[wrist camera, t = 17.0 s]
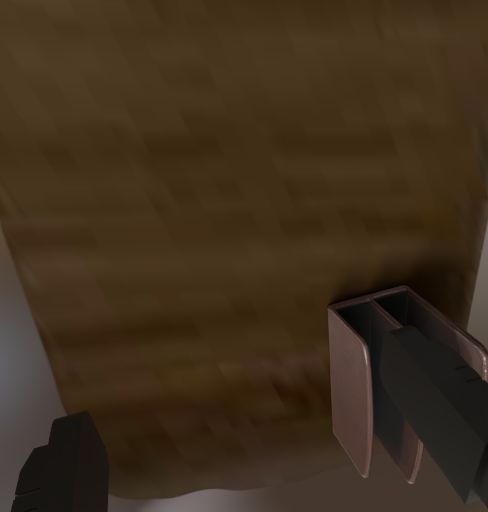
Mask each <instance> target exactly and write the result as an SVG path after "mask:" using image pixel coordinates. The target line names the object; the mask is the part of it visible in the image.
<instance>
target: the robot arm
mask: <svg viewBox="0 0 488 512" xmlns="http://www.w3.org/2000/svg"><path fill="white" fill-rule="evenodd" d="M380 377H381V381H382V384H383V386H384V388H385V390H386V392H387V393H388V395H389V396H390V398H391V399H392V400H393V402H394V403H395V405H396V406H397V408H398V409H399V410H400V412H401V413H402V415H403V416H404V418H405V419H406V420H407V422H408V423H409V425H410V426H411V428H412V429H413V430H414V432H415V433H416V435H417V436H418V438H419V439H420V440H421V442H422V443H423V445H424V446H425V448H426V449H427V451H428V452H429V453H430V455H431V456H432V458H433V459H434V461H435V462H436V463H437V465H438V466H439V468H440V469H441V471H442V472H443V473H444V475H445V476H446V478H447V479H448V480H449V482H450V483H451V485H452V486H453V488H454V489H455V491H456V492H457V493H458V495H459V496H460V498H461V499H462V501H463V502H464V504H465V505H466V504H469V503H472V502H475V501H478V500H482V501H483V502H484V504H485V505H486V507H487V508H488V383H487V382H486V381H485V380H482V378H481V376H480V375H479V374H478V373H477V372H476V371H475V370H474V369H473V368H472V367H470V366H469V364H468V363H467V362H466V361H465V360H464V359H463V358H462V357H461V356H460V355H459V354H458V353H457V352H456V350H454V349H453V348H451V347H449V346H447V345H446V344H444V343H442V342H440V341H438V340H437V339H432V340H429V341H428V340H427V339H426V338H425V337H424V336H423V335H422V334H421V332H420V331H419V330H418V329H417V328H416V327H414V326H412V325H408V326H405V327H401V328H397V329H394V330H390V331H386V332H384V334H383V338H382V348H381V359H380ZM108 484H109V464H108V457H107V452H106V449H105V446H104V444H103V442H102V439H101V437H100V435H99V433H98V431H97V429H96V427H95V425H94V422H93V420H92V418H91V416H90V414H89V413H88V412H87V411H83V412H80V413H76V414H72V415H68V416H65V417H61V418H57V419H55V420H54V421H53V424H52V427H51V432H50V438H49V443H48V445H45V446H41V447H38V448H34V450H33V451H32V453H31V454H30V456H29V458H28V459H27V461H26V463H25V464H24V466H23V468H22V469H21V471H20V474H19V479H18V483H17V487H16V492H15V500H14V501H13V505H12V509H11V512H107V511H108Z"/></svg>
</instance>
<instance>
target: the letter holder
mask: <svg viewBox="0 0 488 512" xmlns="http://www.w3.org/2000/svg"><path fill="white" fill-rule="evenodd" d="M328 325H329V328H328V329H329V350H330V378H331V400H332V420H333V432H334V434H335V436H336V437H337V438H338V440H339V442H340V443H341V445H342V446H343V448H344V450H345V451H346V453H347V454H348V456H349V457H350V459H351V460H352V462H353V463H354V465H355V466H356V468H357V470H358V471H359V472H360V474H361V475H362V476H363V477H364V478H367V477H368V476H369V474H370V468H371V461H372V451H373V434H374V435H375V436H376V438H377V439H378V441H379V442H380V443H381V445H382V446H383V447H384V449H385V450H386V452H387V453H388V455H389V456H390V457H391V459H392V460H393V462H394V463H395V464H396V466H397V468H398V469H399V470H400V472H401V473H402V475H403V476H404V478H405V479H406V480H407V481H408V482H409V483H410V484H413V483H414V482H415V481H416V479H417V475H418V473H419V469H420V465H421V460H422V454H423V449H424V448H425V446H424V445H423V443H422V442H421V440H420V439H419V438H418V436H417V435H416V433H415V432H414V430H413V429H412V428H411V426H410V425H409V423H408V422H407V420H406V419H405V418H404V416H403V415H402V413H401V412H400V410H399V409H398V408H397V406H396V405H395V403H394V402H393V400H392V399H391V398H390V396H389V395H388V393H387V392H386V390H385V388H384V386H383V384H382V381H381V377H380V359H381V348H382V338H383V334H384V332H386V331H390V330H394V329H397V328H401V327H405V326H408V325H412V326H414V327H416V328H417V329H418V330H419V331H420V332H421V334H422V335H423V336H424V337H425V338H426V339H427V340H428V341H429V340H432V339H437V340H438V341H440V342H442V343H444V344H446V345H447V346H449V347H451V348H453V349H454V350H456V352H457V353H458V354H459V355H460V356H461V357H462V358H463V359H464V360H465V361H466V362H467V363H468V364H469V366H470V367H472V368H473V369H474V370H475V371H476V372H477V373H478V374H479V375H480V376H481V378H482V380H485V381H486V382H487V383H488V351H487V349H486V348H485V347H484V345H483V344H482V343H481V342H479V341H478V340H477V339H475V338H474V337H473V336H472V335H470V334H469V333H468V332H467V331H465V330H464V329H463V328H461V327H460V326H459V325H458V324H456V323H455V322H454V321H452V320H451V319H450V318H448V317H447V316H445V315H444V314H443V313H441V312H440V311H439V310H437V309H436V308H435V307H434V306H432V305H431V304H430V303H429V302H427V301H426V300H424V299H423V298H422V297H420V296H419V295H418V294H416V293H415V292H414V291H413V290H412V289H410V288H409V287H408V286H405V285H403V286H398V287H394V288H391V289H387V290H383V291H380V292H376V293H372V294H368V295H365V296H361V297H357V298H354V299H350V300H346V301H342V302H339V303H335V304H331V305H329V306H328ZM425 449H426V448H425ZM426 451H427V449H426ZM427 452H428V451H427ZM428 453H429V452H428ZM429 454H430V453H429ZM431 457H432V456H431ZM433 460H434V459H433ZM436 464H437V463H436Z"/></svg>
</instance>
